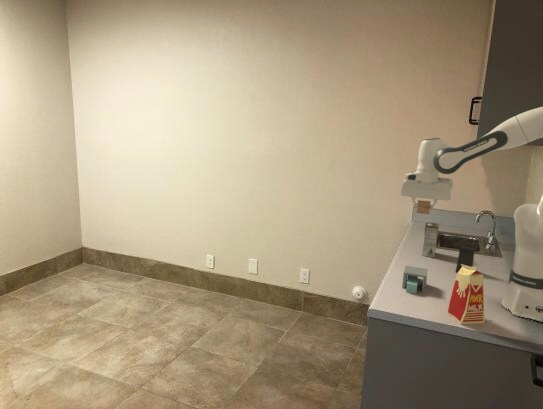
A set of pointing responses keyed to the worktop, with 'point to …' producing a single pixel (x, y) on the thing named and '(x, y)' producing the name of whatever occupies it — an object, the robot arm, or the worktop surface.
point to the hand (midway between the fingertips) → (423, 208)
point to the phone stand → (465, 257)
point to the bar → (411, 284)
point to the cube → (423, 207)
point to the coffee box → (430, 239)
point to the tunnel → (415, 272)
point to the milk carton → (467, 297)
